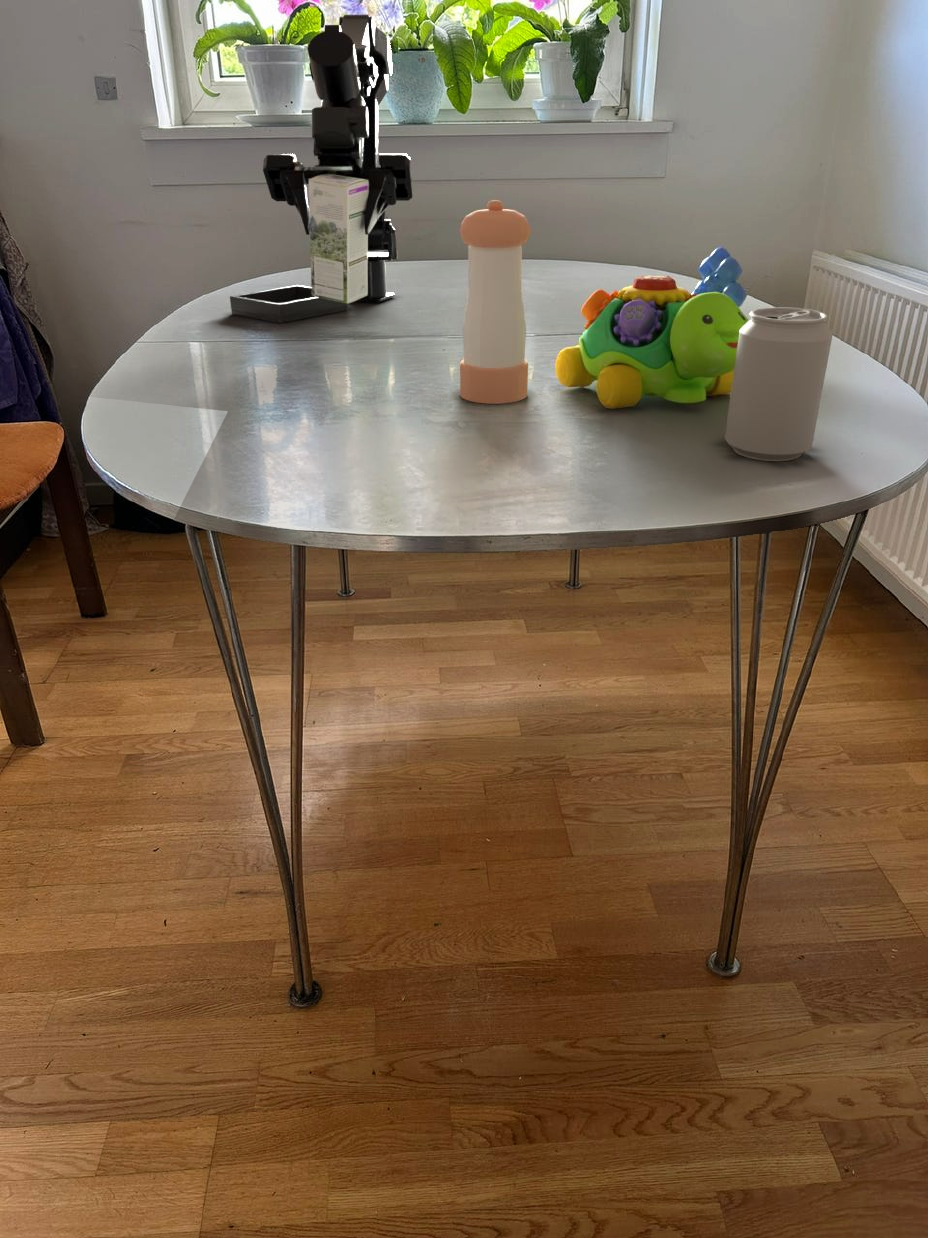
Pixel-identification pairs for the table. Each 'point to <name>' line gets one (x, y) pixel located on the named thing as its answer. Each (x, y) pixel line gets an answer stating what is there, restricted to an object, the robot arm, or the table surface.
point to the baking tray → (283, 304)
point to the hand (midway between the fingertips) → (336, 232)
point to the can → (778, 383)
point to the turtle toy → (654, 344)
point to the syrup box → (338, 237)
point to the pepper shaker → (494, 307)
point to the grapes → (721, 276)
